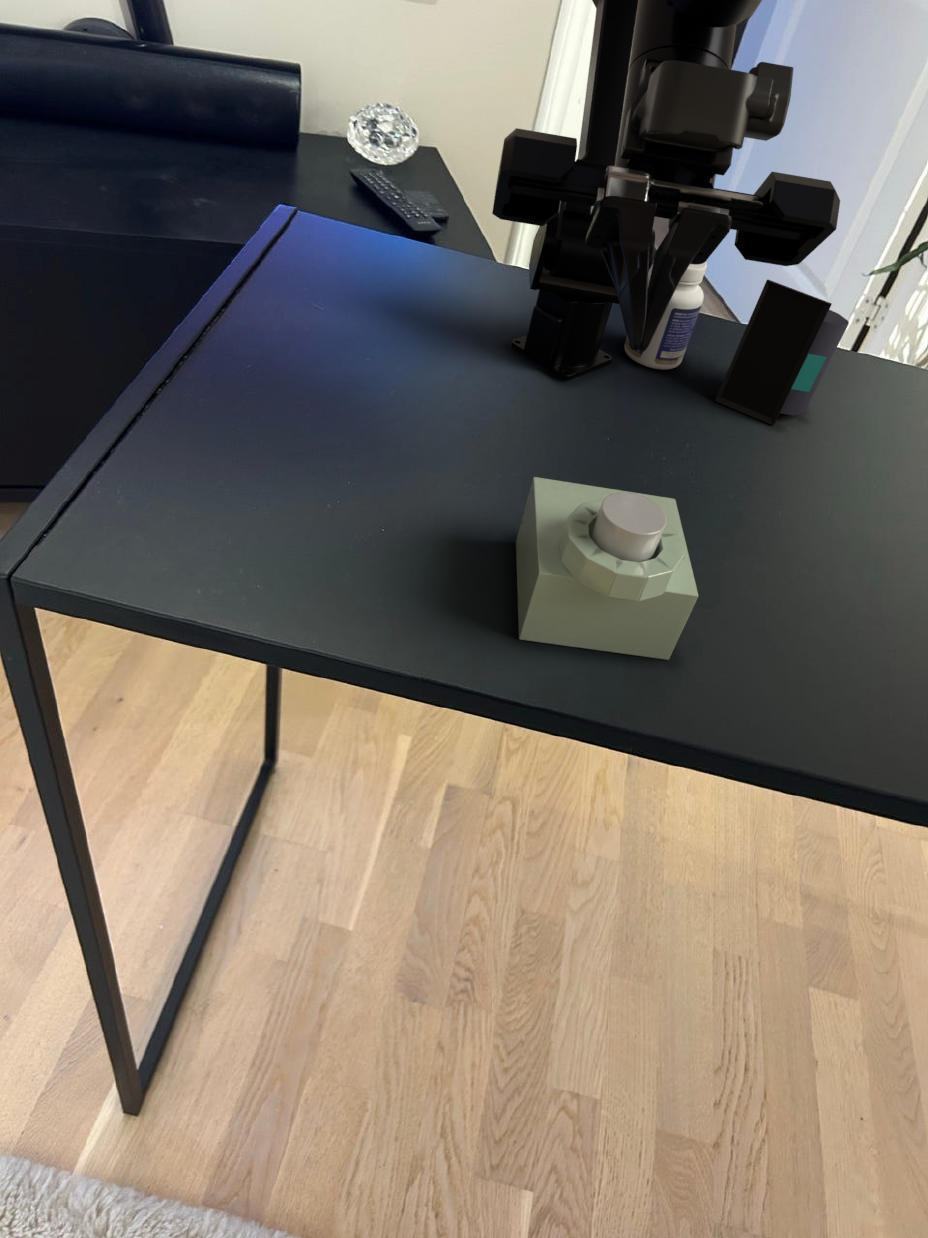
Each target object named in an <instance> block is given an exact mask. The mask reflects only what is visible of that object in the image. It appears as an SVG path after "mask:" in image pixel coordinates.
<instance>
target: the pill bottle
mask: <svg viewBox="0 0 928 1238" xmlns="http://www.w3.org/2000/svg"><path fill="white" fill-rule="evenodd" d="M707 267H708V263H707V261H706V262H705V263H703V264H698V265H695V264H690V265H689V266H688V268H687V270H686V271H685V273H684V274H683V276H682V278H681V280H680V282H679V284H678V286H677V288H676V290H675V292H674V294H673V296H672V298H671V300H670V302H669V304H668V307H667V309H666V311H665V313H664V315H663V317H662V319H661V321H660V323H659V325H658V327H657V330H656V332H655V334H654V336H653V338H652V340H651V342H650V344H649V346H648V348H647V349H646V350H645V351H644V352H642V351H638V350H637V351H636V350H631V348H630V344H629V340H628V336H627V335H626V338H625V341H624V346H623V347H624V348H623V349H624V351H625V353H626V355H627V356H628V357H629V358H630V359H631V360H632V361H634V362H635V363H638V364H639V365H642V366H644V367H647V368H650V369H655V370H672V369H674V368H677V367H679V366H680V365H681V364H682V361H683V359H684V356H685V354H686V351H687V348H688V345H689V342H690V339H691V337H692V333H693V331H694V329H695V325H696V323H697V320H698V317H699V314H700V311H701V309H702V305H703V303H704V298H705V295H704V291H703V289H702V287H701V286H700V285H699V284H701V283H702V282H703V279H704V276H705V273H706V270H707ZM650 276H651V274H650V275H648V286H649V281H650Z"/></svg>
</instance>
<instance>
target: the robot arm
mask: <svg viewBox="0 0 928 1238" xmlns="http://www.w3.org/2000/svg"><path fill="white" fill-rule="evenodd" d="M591 2H592V3H593V5H594V7H595V17H594V18H595V19H594V25H593V32H592V33H593V34H592V42H591V49H590V56H589V58H590V59H589V66H588V73H587V80H586V81H587V82H586V88H585V91H586V92H585V98H584V105H583V111H582V113H583V114H582V120H581V129H580V138H579V144H578V139H577V138H576V137H572V136H564V135H559V134H553V133H547V132H542V131H535V130H528V129H523V128H517V127H516V128H515V129H514V130H512V131H511V132H510V133H509V134H508V135H507V136H506V137H504V139H503V145H502V150H501V156H500V161H499V166H498V173H497V180H496V184H495V191H494V199H493V205H492V212H491V214H492V215H493V216H495V217H496V218H497V219H499V220H503V221H509V222H514V223H521V224H526V225H533V226H537V227H538V228H537V231H536V232H535V235H534V238H533V240H532V247H531V250H530V251H531V252H530V257H529V262H528V275H529V289H530V290H531V291H537V290H538V293H537V299H536V302H535V305H534V306H533V308H532V312H531V316H530V320H529V325H528V329H527V334H526V335H523V336H520V337H518V338H517V337H516V338H514V339H512V340H511V343H510V347H511V348H512V349H514V350H515V351H517V352H519V353H520V354H522V355H523V356H525V357H527V358H528V359H530V360H531V361H532V362H534V363H536V364H537V365H539V366H540V367H542V368H544V370H547V371H548V372H550V373H551V374H552V375H555V376H556V377H558V378H559V379H561V380H564V381H569V380H572V379H575V378H577V377H580V376H583V375H585V374H588V373H591V372H592V371H595V370H599V369H600V368H603V367H605V366H608V365H610V364H612V360H613V356H612V355H610V354H609V353H607V352H605V351H603V350H601V349H600V348H601V344H602V341H603V338H604V334H605V331H606V327H607V324H608V321H609V317H610V314H611V310H612V307H613V304H617V305H619V308H620V312H621V316H622V320H623V324H624V328H625V331H626V337H627V336H628V340H629V344H630V348H631V350H636V351H637V350H638V351H642V352H644V351H645V350H646V349H647V348H648V346H649V344H650V342H651V340H652V338H653V336H654V334H655V332H656V330H657V327H658V325H659V323H660V321H661V319H662V317H663V315H664V313H665V311H666V309H667V307H668V304H669V302H670V300H671V298H672V296H673V294H674V292H675V290H676V288H677V286H678V284H679V282H680V280H681V278H682V276H683V274H684V273H685V271H686V270H687V268H688V266H689V265H690V264H695V265H698V264H703V263H705V262H706V263H707V260H708V259H709V258H710V257H711V255H712V254H713V253H714V252H715V250H716V249H717V248H718V246H719V245H721V243H722V242H723V240H724V239H725V238H726V237H727V235H729V233H730V231H731V230H734V231H735V239H734V247H735V248H736V249H737V251H738V252H739V253H740V254H741V256H742V258H743V259H744V260H745V261H752V262H757V263H763V264H769V265H775V266H782V267H790V266H796V265H800V264H801V263H802V262H803V261H804V260H805V259H806V258H807V257H808V256H810V254H811V253H813V252H814V251H815V250H816V249H817V248H818V247H819V246H820V245H821V244H822V243H823V242H824V241H826V239H828V238H829V237H830V236H831V235H832V234H833V233H834V232H835V231H836V230H837V228H838V227H837V226H838V220H839V212H840V205H841V199H840V197H839V195H838V193H837V191H836V189H835V186H834V185H833V183H832V181H831V180H824V179H819V178H812V177H807V176H800V175H795V174H787V173H783V172H777V171H771V172H770V173H769V174H768V176H767V177H766V178H765V179H764V181H763V182H762V183H761V185H760V186H759V187H758V188H757V190H756V191H755V192H754V193H753V194H751V193H745V192H739V191H733V190H728V189H721V188H716V187H715V183H716V175H718V176H725V174H726V173H727V172H728V170H729V169H730V167H731V166H732V161H733V160H732V159H733V152H734V150H740V149H743V145H744V141H745V138H747V139H752V140H753V139H754V140H759V141H765V142H767V141H769V140H771V139H774V138H775V137H777V136H779V135H780V134H781V133H782V130H783V128H784V126H785V123H786V119H787V114H788V110H789V107H790V102H791V96H792V87H793V77H794V67H793V66H789V65H785V64H784V65H783V64H778V63H772V62H765V61H760V62H758V63H757V64H756V65H755V66H754V67H752V68H751V69H750V70H749V71H748V72H746V71H743V70H742V71H741V70H735V69H731V68H732V60H733V55H734V46H735V40H736V34H737V27H738V26H737V25H738V24H740V23H743V22H748V21H749V20H750V19H751V18H752V16H754V14H755V12H756V11H757V9H758V8H759V6H760V5H761V3H762V2H763V0H591ZM578 145H579V146H578ZM577 149H578V150H577ZM577 151H578V154H577ZM576 156H577V158H576ZM655 217H656V218H661V219H667V220H668V226H667V227H668V228H667V229H668V232H667V233H666V235H665V236H664V238H663V240H661V243H660V244H659V245H658V247H657V248H656V231H655V230H654V222H655ZM650 270H651V271H650ZM649 272H650V275H651V276H650V275H649ZM649 276H650V281H649V286H648V277H649Z"/></svg>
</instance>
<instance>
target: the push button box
mask: <svg viewBox="0 0 928 1238" xmlns="http://www.w3.org/2000/svg"><path fill="white" fill-rule="evenodd" d="M528 492H529V493H528V496H527V500H526V503H525V505H524V506H525V507H524V510H523V513H522V518H521V521H520V525H519V529H518V533H517V536H516V540H515V553H516V555H515V556H516V583H517V584H516V585H517V586H516V588H517V589H516V591H517V618H518V639H519V640H521V641H528V642H535V643H543V644H549V645H557V646H564V647H571V648H578V649H585V650H593V651H600V652H608V653H614V654H622V655H630V656H638V657H644V658H652V659H659V660H665V661H668V660H670V658H671V656H672V654H673V651H674V650H675V648H676V645H677V643H678V641H679V639H680V637H681V634H682V632H683V630H684V628H685V626H686V625H687V622H688V620H689V618H690V616H691V613H692V611H693V609H694V607H695V604H696V603H697V600H698V598H699V593H698V587H697V584H696V583H697V582H696V579H695V576H694V570H693V568H692V563H691V559H690V554H689V550H688V547H687V542H686V539H685V534H684V531H683V530H684V529H683V526H682V521H681V517H680V514H679V509H678V504H677V501H676V499H675V498H671V497H666V496H659V495H655V494H654V495H653V494H646V493H639V492H635V491H627V490H621V489H616V488H615V489H614V488H609V487H601V486H594V485H588V484H584V483H583V484H582V483H577V482H570V481H563V480H558V479H557V480H556V479H551V478H545V477H538V476H533V477H532V481H531V484H530V489H529V491H528ZM615 493H632V494H636V495H640V496H643V497H645V498H647V499H649V500H651V501H652V502H654V503H655V504H657V505H658V506H659V507H660V508H661V509H662V510H663V512H664V514H665V516H666V521H667V522H666V526H665V529H664V531H663V534H662V536H661V539H660V541H659V543H658V546H657V548H656V551H655V553H654V555H653V556H652V557H651V558H650V559H648V560H646V561H643V562H633V561H626V560H620V559H618V558H616V557H614V556H612V555H610V554H608V553H606V552H604V551H602V550H601V549H600V548H599V547H598V546H597V545H596V544H595V543H594V542H593V539H592V530H593V528H594V525H595V522H596V519H597V516H598V513H599V510H600V507H601V504H602V502H603V500H604V499H605V498H606V497H607V496H609V495H611V494H615Z"/></svg>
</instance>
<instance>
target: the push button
mask: <svg viewBox="0 0 928 1238" xmlns="http://www.w3.org/2000/svg"><path fill="white" fill-rule="evenodd" d="M666 522H667V521H666V516H665V514H664V512H663V510H662V509H661V508H660V507H659V506H658V505H657V504H655V503H654V502H652V501H651V500H649V499H647V498H645V497H643V496H640V495H636V494H632V493H615V494H611V495H609V496H607V497H606V498H605V499H604V500H603V502H602V504H601V507H600V510H599V513H598V516H597V519H596V522H595V525H594V528H593V530H592V539H593V542H594V543H595V544H596V545H597V546H598V547H599V548H600V549H601V550H602V551H604V552H606V553H608V554H610V555H612V556H614V557H616V558H618V559H620V560H626V561H633V562H643V561H646V560H648V559H650V558H651V557H652V556H653V555H654V553H655V551H656V548H657V546H658V543H659V541H660V539H661V536H662V534H663V531H664V529H665V526H666Z"/></svg>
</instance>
